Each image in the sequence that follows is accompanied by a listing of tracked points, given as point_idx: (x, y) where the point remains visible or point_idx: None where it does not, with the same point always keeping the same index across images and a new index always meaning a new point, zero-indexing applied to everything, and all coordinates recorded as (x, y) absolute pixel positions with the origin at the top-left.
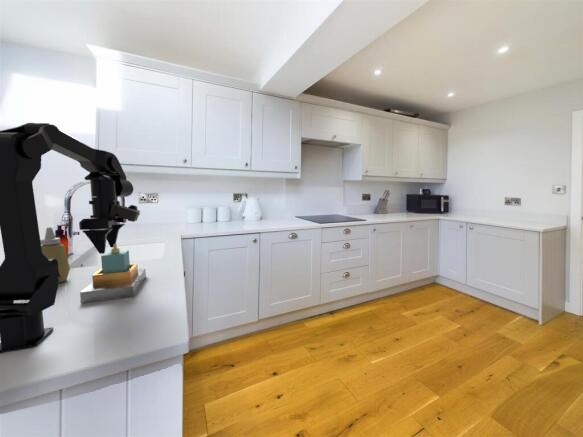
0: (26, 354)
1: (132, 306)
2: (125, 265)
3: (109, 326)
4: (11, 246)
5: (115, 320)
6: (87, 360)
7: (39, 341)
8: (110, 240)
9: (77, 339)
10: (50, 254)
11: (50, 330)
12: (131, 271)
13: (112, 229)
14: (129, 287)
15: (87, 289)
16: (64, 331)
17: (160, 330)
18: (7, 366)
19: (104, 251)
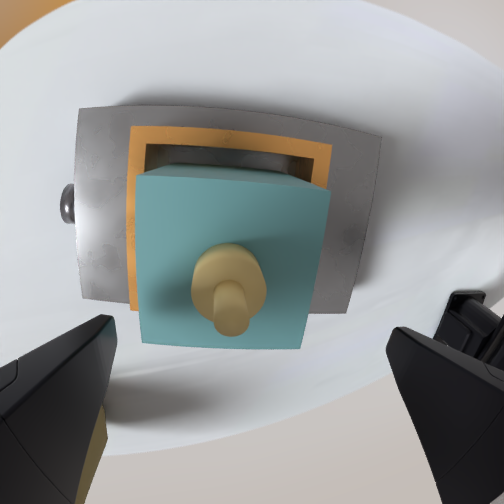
0: (490, 293)
1: (433, 145)
2: (280, 176)
3: (490, 194)
4: None
5: (477, 184)
6: None
7: (480, 292)
8: (95, 390)
9: (497, 239)
10: (81, 478)
11: (462, 293)
12: (306, 140)
13: (23, 479)
14: (377, 150)
15: (328, 300)
16: (466, 270)
17: None
18: (499, 299)
19: (411, 331)
